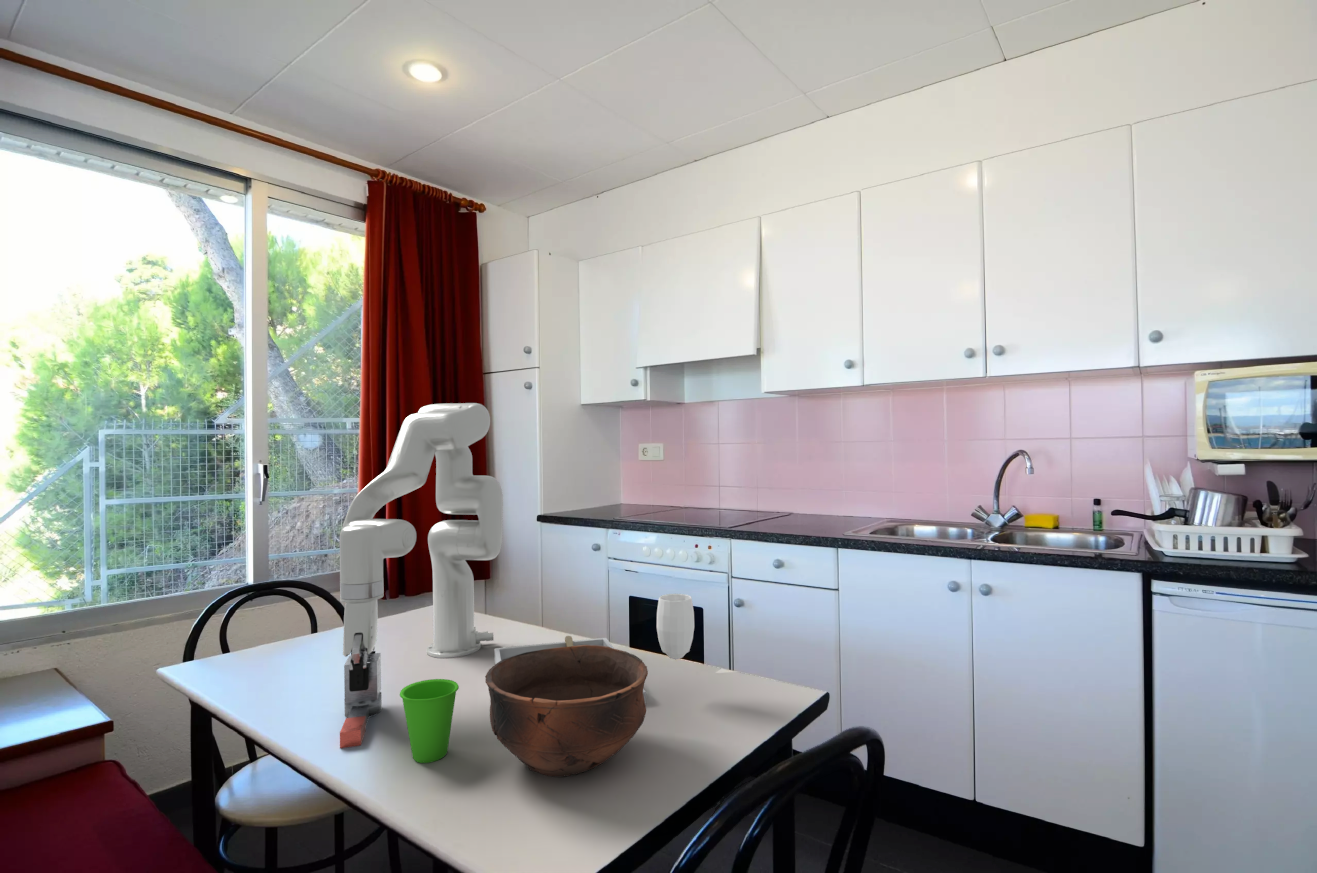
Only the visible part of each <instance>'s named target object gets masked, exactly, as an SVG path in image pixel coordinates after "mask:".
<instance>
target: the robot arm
mask: <svg viewBox="0 0 1317 873" xmlns="http://www.w3.org/2000/svg"><path fill="white" fill-rule="evenodd" d="M490 426H491V415H490V412H489V410H488V409H487V408H486V407H485V405H483V404H482V403H477V402H465V403H464V402H463V403H461V402H458V403H453V402H450V403H447V402H446V403H434V404H433V403H431V404H427V405H424V406H421V407H420V408H419V409H418V411H417V412H416V413H411V414H409V415H408V416H407V417H405V419H404V420H403V421H402V424H401V427H400V430H399V432H398V434H397V437H396V440H395V443H394V446H393V448H392V450H391V451H392V452H391V454H390V457H389V459H388V462H387V465H386V468H385V469H384V471H382V472H381V473H380V474H379V475H377V476H376V477H375V478H374V479H372V480H371V481H370V482H369V483H368V484H367V485H366V486H365V487H364V488H362V489H361V490H360V491H359V492H358V493H357V494H356V496H354V498H353V500H352V501H351V502H350V505H349V507H348V510H347V513H346V516H345V517H344V520H343V524H342V527H341V530H340V533H339V600H340V602H341V603H345V605H344V615H343V637H342V638H343V643H342V645H343V646H342V649H343V650H342V655H343V656H344V657H345V658H348V657H349V656H351V659H350V669H349V690H350V691H351V692H353V691H362V690H368V688H369V667H367V659H368V655H369V654H374V653H376V650H375V648H376V647H375V646H376V643H377V640H378V623H379V622H378V620H379V619H378V614H379V613H378V612H379V611H378V600H381V599H382V598H383V597H384V592H385V591H384V586H385V585H384V559H389V558H399V557H403V556H405V555H407V554H408V553H410V552H411V551H412V550H413V548H414V547H415V545H416V542H417V531H416V528H415V526H414V525H413V524H412V523H410V522H409V521H407V520H404V519H399V518H398V519H397V518H374V517H375V515H376V513H377V512H379V510H380V509H382V508H383V506H385V505H387V504H388V503H390V502H392V501H393V500H395V499H397V498H400V497H402V496H404V495H407V494H409V493H411V492H413V491H415V490H417V489H419V488H422V486H424V485H425V484H426V482H427V479H428V475H429V473H430V470H431V466H432V463H433V460H434V457H435V461H436V462H435V464H436V465H435V466H436V468H435V473H436V475H435V503H436V504H435V505H436V508H437V509H438V511H439V512H441V513H443V514H447V515H463V516H464V515H465V516H466V515H468V516H469V515H473V516H475V515H477V518H478V520H473V519H471V520H468V519H447V520H442V521H439V522H437V523H435V524H434V525H433V526H431V528H430V530H429V532H428V534H427V544H428V550H429V555H430V561H431V569H432V616H433V617H432V619H433V620H432V622H433V623H432V626H433V628H432V629H433V632H432V634H433V640H432V641H433V642H432V643H430V644H429V645H428V646H427V647H426V654H427V655H428V656H430V657H432V658H437V659H438V658H440V659H449V658H458V657H459V658H460V657H463V656H466V655H470V654H474V653H475V652H478V650H480V649H481V647H482V643H481V642H491V641H494V632H489V631H488V630H487V631H478V630H477V631H476V626H475V592H474V591H475V590H474V589H475V588H474V587H475V586H474V585H475V581H474V573H473V571H472V569H471V567H470V565H469V564H468V562H467V561H491V560H494V559H496V558H497V556H498V555H499V554H500V553H501V549H502V545H503V544H502V543H503V513H504V512H503V511H504V510H503V506H504V501H503V500H504V499H503V497H504V495H503V488H502V486H501V484H500V482H499V480H498V479H497V478H495V476H494V477H493V476H491V475H474V474H473V455H472V452H471V449H470V448H469V447H470V446H471V445H473V444H475V443H476V442H478V441H480V440H482V439H483V438H484V437H485V436H486V435H487V433H488V431H489V429H490ZM362 656H364V660H363V658H362Z"/></svg>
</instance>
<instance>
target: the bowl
mask: <svg viewBox="0 0 1317 873" xmlns="http://www.w3.org/2000/svg"><path fill="white" fill-rule="evenodd" d="M613 648H614V647H613ZM613 648H611V647H608V646H599V645H578V646H571V647H560V648H551V649H543V650H537V651H531V652H526V653H522V654H519V655H516V656H512V657H509V658H506V659H503V660H501V661H500V662H498V663H497V664H495V663H494V665H493V666H491V667H490V668H489V669H488V671H487V672H486V674H485V676H484V677H485V678H484V679H485V684H486V686H487V688H488V694H489V698H490V699H489V700H490V702H489V704H490V705H489V720H490V721H489V722H490V728H491V731H492V732H493V735H494V736H496V739H497V740H498V741H499V742H500V743H501V745H503V746H504V747H505V748H506V749H507V750H508V751H509V752H510V753H511V754H513V755H514V756H515V757H516V758H517V759H518V760H519V761H520V762H521V763H523V764H524V765H525V767H528V768H529V770H530V771H533V772H534V773H539V774H541V775H542V776H543V775H544V776H548V777H562V778H563V777H570V776H571V775H578V774H581V773H584V772H587V771H589V770H591V769H594V768H597V767H598V766H600V765H601V764H603V763H605V762H607V761H608V760H609V759H610V758H612V757H613V756H614V755H616V754H617V753H618V752H619V751H620V750H621V749H622V748H624V746H626V745H627V743H628V742H630V740H631V739H633V737H634V736H635V735H636V733H638V731H639V729H640V728H641V726H642V725H643V722H644V720H645V717H646V712H647V707H646V704H645V701H644V695H643V689H644V685H645V683H646V679H647V677H648V674H649V673H648V671H649V670H648V666H647V665H646V664H645V662H643V660H642V659H641V658H640V657H638V656H636V655H635V654H632V653H630V652H627V651H625V650H621V649H618V648H617V649H616V648H614V649H613Z"/></svg>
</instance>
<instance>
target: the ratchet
mask: <svg viewBox="0 0 1317 873" xmlns="http://www.w3.org/2000/svg"><path fill="white" fill-rule="evenodd" d="M382 698H383V697H382V691H380V694H379V697H378V700H370V701H361V702H352V703H345V698H343V699H344V702H343V703H344V717H345V719H344V722H343V723H342V727H341V729H340V731H339V749H345V748H346V749H347V748H352V747H360V746H362V743H363V740H364V738H365V735H366V731H367V725H368V722H369V719H370V718H371V717H374V716H376V715H378V714H380V713H381V711H382V709H383V708H382V704H383V703H382V700H383V699H382Z"/></svg>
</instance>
